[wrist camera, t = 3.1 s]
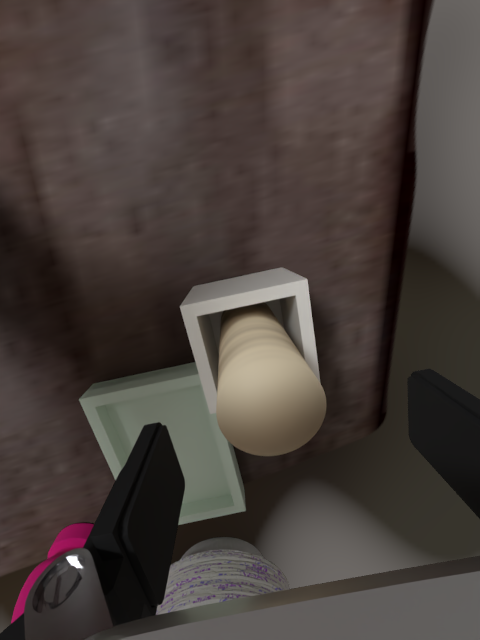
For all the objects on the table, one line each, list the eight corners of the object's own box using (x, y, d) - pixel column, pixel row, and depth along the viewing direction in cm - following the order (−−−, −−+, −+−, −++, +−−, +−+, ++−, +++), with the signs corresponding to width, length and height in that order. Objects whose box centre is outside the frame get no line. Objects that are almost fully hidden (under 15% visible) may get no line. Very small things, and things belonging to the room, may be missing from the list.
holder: (193, 286, 22) (179, 306, 15) (281, 267, 22) (307, 279, 15) (214, 366, 24) (210, 414, 17) (294, 348, 24) (321, 390, 17)
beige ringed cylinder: (215, 302, 21) (204, 374, 10) (268, 291, 21) (320, 350, 10) (227, 352, 23) (229, 465, 11) (277, 341, 23) (331, 444, 11)
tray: (93, 383, 24) (78, 399, 22) (210, 358, 24) (208, 371, 22) (146, 508, 29) (139, 533, 26) (244, 488, 29) (246, 510, 26)
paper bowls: (167, 608, 34) (151, 714, 26) (149, 523, 29) (123, 621, 22) (283, 595, 35) (300, 695, 27) (282, 510, 30) (302, 602, 22)
